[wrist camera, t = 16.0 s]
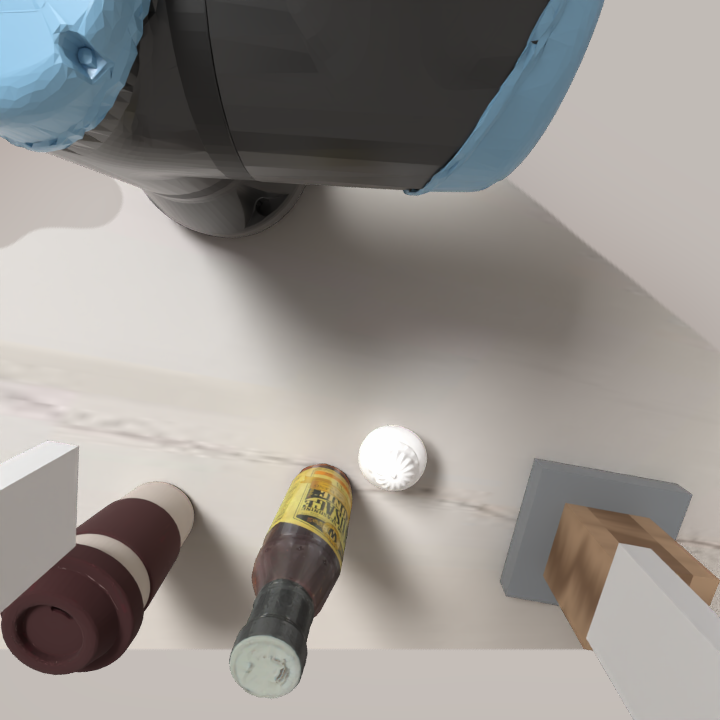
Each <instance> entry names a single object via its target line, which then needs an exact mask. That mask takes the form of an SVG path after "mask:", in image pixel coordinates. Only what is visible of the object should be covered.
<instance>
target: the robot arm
mask: <svg viewBox="0 0 720 720" xmlns="http://www.w3.org/2000/svg"><path fill="white" fill-rule="evenodd" d="M603 3H604V0H0V137H2V138H4V139H6V140H7V141H9V142H10V143H11V144H14V145H15V146H19V147H24V148H26V149H28V150H31V151H35V152H46V153H49V154H51V155H54V156H56V157H59V158H62V159H65V160H67V161H70V162H73V163H76V164H78V165H81V166H83V167H86V168H89V169H91V170H94V171H97V172H99V173H102V174H105V175H107V176H110V177H113V178H115V179H118V180H121V181H123V182H126V183H129V184H132V185H134V186H137V187H140V188H142V190H143V191H144V192H145V194H146V195H147V196H148V198H149V199H150V200H151V201H152V202H153V204H154V205H155V206H156V207H157V208H158V209H160V210H161V211H162V212H163V213H164V214H165V215H167V216H168V217H169V218H171V219H172V220H174V221H175V222H177V223H179V224H181V225H182V226H184V227H187V228H189V229H191V230H194V231H197V232H200V233H204V234H208V235H212V236H217V237H226V238H236V237H244V236H249V235H252V234H255V233H258V232H261V231H263V230H265V229H267V228H269V227H271V226H272V225H274V224H275V223H277V222H278V221H279V220H280V219H282V218H283V217H284V216H285V215H286V214H287V213H288V212H289V211H290V209H291V208H292V207H293V206H294V204H295V203H296V202H297V200H298V198H299V197H300V195H301V193H302V191H303V189H304V187H305V184H308V185H325V186H342V187H359V188H376V189H393V190H403V192H404V193H405V194H407V195H414V196H417V195H421V194H425V193H428V192H475V191H480V190H484V189H486V188H488V187H489V186H491V185H492V184H495V183H496V182H498V181H500V180H503V179H504V178H505V177H507V176H508V175H509V174H511V173H512V172H513V171H514V169H516V168H517V167H518V166H519V165H520V164H521V162H522V161H523V160H524V159H525V158H526V157H527V155H528V154H529V153H530V152H531V150H532V149H533V148H534V146H535V145H536V144H537V142H538V140H539V139H540V138H541V136H542V135H543V133H544V132H545V130H546V129H547V127H548V125H549V124H550V122H551V120H552V118H553V117H554V115H555V113H556V112H557V110H558V108H559V106H560V104H561V102H562V100H563V99H564V97H565V95H566V93H567V91H568V89H569V87H570V85H571V82H572V81H573V78H574V76H575V74H576V72H577V70H578V68H579V66H580V64H581V61H582V59H583V56H584V54H585V52H586V50H587V47H588V45H589V42H590V40H591V37H592V34H593V32H594V29H595V27H596V24H597V21H598V18H599V15H600V12H601V10H602V7H603ZM78 459H79V446H77V445H72V444H66V443H60V442H55V441H49V440H47V441H45V442H43V443H41V444H39V445H37V446H35V447H33V448H31V449H29V450H27V451H25V452H23V453H21V454H19V455H17V456H15V457H13V458H11V459H9V460H7V461H5V462H3V463H1V464H0V613H1V612H2V611H3V610H4V609H5V608H7V607H8V606H9V605H10V604H11V603H12V602H13V601H14V600H16V599H17V598H18V597H19V596H20V595H21V594H22V593H23V592H25V591H26V590H27V589H28V588H29V587H30V586H31V585H32V584H33V583H35V582H36V581H37V580H38V579H39V578H40V577H41V576H42V575H44V574H45V573H46V572H47V571H48V570H49V569H50V568H51V567H53V566H54V565H55V564H56V563H57V562H58V561H59V560H60V559H62V558H63V557H64V556H65V555H66V554H67V553H68V552H69V551H70V550H72V549H73V548H74V547H75V546H76V520H77V490H78ZM586 639H587V641H588V642H589V644H590V646H591V648H592V649H593V651H594V653H595V654H596V656H597V658H598V660H599V661H600V663H601V665H602V666H603V668H604V670H605V672H606V673H607V675H608V677H609V679H610V680H611V682H612V684H613V685H614V687H615V689H616V690H617V692H618V694H619V696H620V697H621V699H622V701H623V703H624V704H625V706H626V708H627V709H628V711H629V713H630V715H631V716H632V718H633V720H720V617H719V616H718V615H717V614H716V613H715V612H714V611H713V610H712V609H711V608H710V607H709V606H708V605H707V604H706V603H705V602H704V601H703V600H702V599H701V598H700V597H699V596H698V595H697V594H696V593H695V592H694V591H693V590H692V589H691V588H690V587H689V586H688V585H687V584H686V583H685V582H684V581H683V580H682V579H681V578H680V577H679V576H678V575H677V574H676V573H675V572H674V571H673V570H672V569H671V568H670V567H669V566H668V565H667V564H666V563H665V562H664V561H663V560H662V559H661V558H660V557H659V556H658V555H657V554H656V553H655V552H654V551H653V550H652V549H650V548H645V547H639V546H634V545H628V544H622V543H619V544H618V547H617V550H616V553H615V556H614V559H613V562H612V564H611V567H610V570H609V573H608V576H607V579H606V582H605V585H604V588H603V591H602V593H601V596H600V599H599V602H598V605H597V608H596V611H595V614H594V617H593V620H592V623H591V625H590V628H589V631H588V634H587V637H586Z"/></svg>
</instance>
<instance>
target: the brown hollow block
mask: <svg viewBox="0 0 720 720" xmlns="http://www.w3.org/2000/svg"><path fill="white" fill-rule="evenodd" d="M619 543H622V544H628V545H634V546H639V547H645V548H650V549H652V550H653V551H654V552H655V553H656V554H657V555H658V556H659V557H660V558H661V559H662V560H663V561H664V562H665V563H666V564H667V565H668V566H669V567H670V568H671V569H672V570H673V571H674V572H675V573H676V574H677V575H678V576H679V577H680V578H681V579H682V580H683V581H684V582H685V583H686V584H687V585H688V586H689V587H690V588H691V589H692V590H693V591H694V592H695V593H696V594H697V595H698V596H699V597H700V598H701V599H702V600H703V601H704V602H705V603H706V604H707V605H708V606H710V604H711V601H712V599H713V596H714V594H715V591H716V589H717V587H718V584H719V582H720V580H719V579H718V578H717V577H716V576H715V575H713V574H712V573H711V572H710V571H709V570H708V569H707V568H705V567H704V566H703V565H702V564H701V563H700V562H699V561H698V560H696V559H695V558H694V557H693V556H692V555H691V554H690V553H688V552H687V551H686V550H685V549H684V548H683V547H682V546H681V545H679V544H678V543H677V542H676V541H675V540H674V539H673V538H671V537H670V536H669V535H668V534H667V533H666V532H665V531H664V530H662V529H661V528H660V527H659V526H658V525H657V524H656V523H654V522H653V521H652V520H651V519H650V518H646V517H641V516H635V515H630V514H624V513H619V512H613V511H608V510H602V509H596V508H591V507H585V506H580V505H574V504H569V503H565V506H564V509H563V512H562V515H561V519H560V522H559V525H558V528H557V532H556V535H555V538H554V541H553V545H552V548H551V551H550V554H549V558H548V561H547V564H546V567H545V571H544V574H543V577H544V579H545V580H546V582H547V584H548V586H549V588H550V589H551V591H552V593H553V595H554V596H555V598H556V600H557V602H558V604H559V605H560V607H561V609H562V611H563V613H564V614H565V616H566V618H567V620H568V622H569V623H570V625H571V627H572V629H573V631H574V632H575V634H576V636H577V638H578V640H579V641H580V643H581V645H582V647H583V649H587V650H592V651H593V649H592V648H591V646H590V644H589V642H588V641H587V639H586V637H587V634H588V631H589V628H590V625H591V623H592V620H593V617H594V614H595V611H596V608H597V605H598V602H599V599H600V596H601V593H602V591H603V588H604V585H605V582H606V579H607V576H608V573H609V570H610V567H611V564H612V562H613V559H614V556H615V553H616V550H617V547H618V544H619Z"/></svg>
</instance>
